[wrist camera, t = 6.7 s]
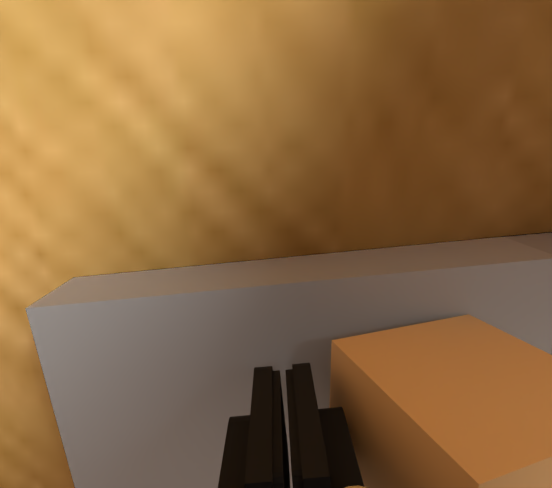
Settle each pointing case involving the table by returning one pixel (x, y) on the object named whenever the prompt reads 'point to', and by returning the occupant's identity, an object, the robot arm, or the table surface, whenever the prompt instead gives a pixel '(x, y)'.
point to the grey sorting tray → (249, 341)
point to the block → (446, 406)
